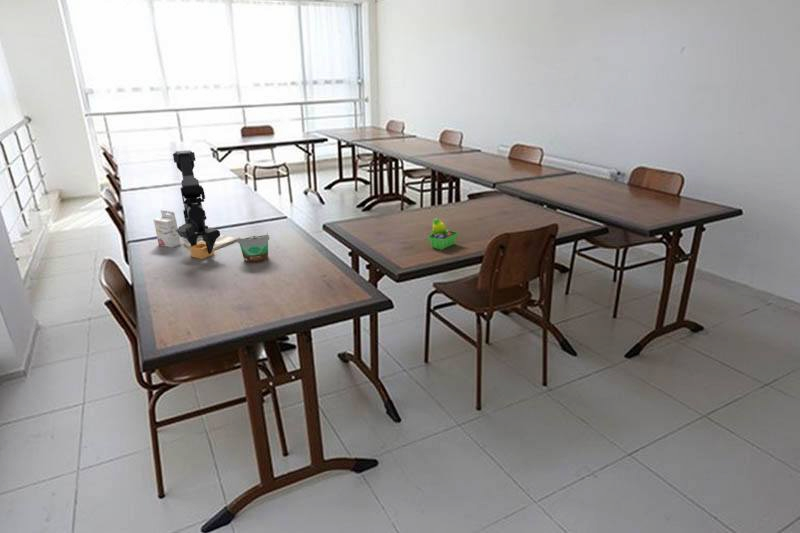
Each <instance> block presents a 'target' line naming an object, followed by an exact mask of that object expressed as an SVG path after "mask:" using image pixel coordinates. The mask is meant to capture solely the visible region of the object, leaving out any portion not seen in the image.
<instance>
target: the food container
mask: <svg viewBox="0 0 800 533" xmlns="http://www.w3.org/2000/svg"><path fill="white" fill-rule="evenodd" d="M237 238H238V241H237V244H238V245H239V247H240V249H241V254H242V257H243V261H244V262H245V263H248V264H258V263H262V262H266V261H267V260H268V259H269V240H270V238H271V237H270V235H269V234H268V232H267V233H266V234H264V235H263V234H262V235H253V236H248V237H246V238H240V237H237Z"/></svg>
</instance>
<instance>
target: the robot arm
mask: <svg viewBox="0 0 800 533" xmlns="http://www.w3.org/2000/svg"><path fill="white" fill-rule="evenodd" d="M172 157H173V162H174V164H176V169H178V170H179V171H180V172H181V175H182V180H181V187H180V194H181V198H182V204H183V210H182V212H183V216H184V217H183V218H184V222H185V223H184V224H182V225H180V226H179V227H178V229H177V232H178V234H179V237H180V238H183V239H186V240H187V242H189V243H190V245H191V246H194V245H197V239H198V236H200V235H201V237H202V238H203V239H202V240H203V241H204V242H205V243H206V247H207V250H208V253H209V254H211V253H212V250H213V247H214V244H215V241H216V239H217V238H218V237H219V236H220V235H221V231H220V230H219V229H216V228H212V229H209V230H206V229H208V227H209V226H208V225H206V220H207V215H206V211H205V210H204V208H203V204H202V203H205V200H206V195H205V190H204V187H203V186H202V185H201V184H200V183H199V179H197V178H196V177H195V174H194V167H195V161H196V156H195V152H193V151H191V149H186V150H185V149H184V150H175V151H174V153H173V154H172Z"/></svg>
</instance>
